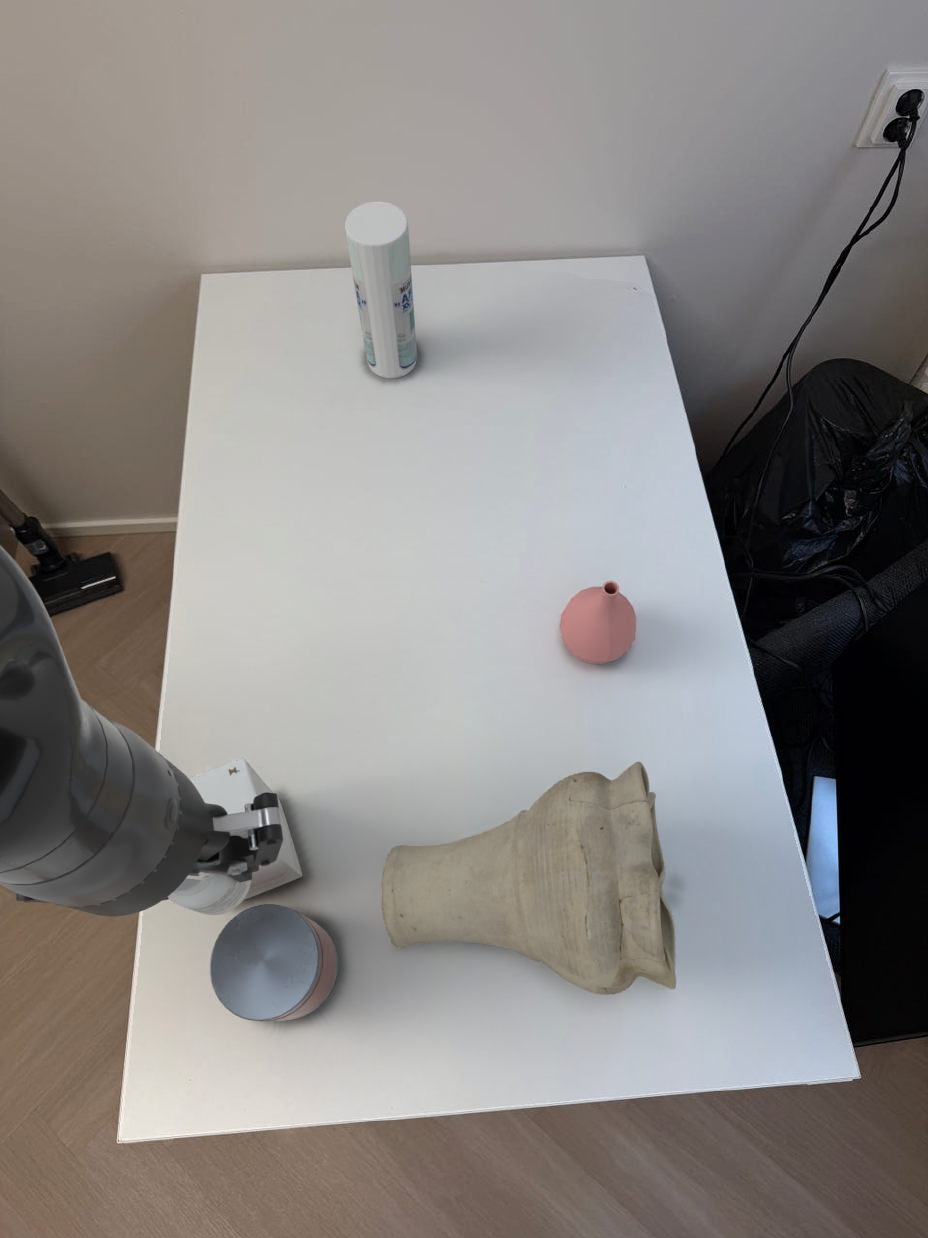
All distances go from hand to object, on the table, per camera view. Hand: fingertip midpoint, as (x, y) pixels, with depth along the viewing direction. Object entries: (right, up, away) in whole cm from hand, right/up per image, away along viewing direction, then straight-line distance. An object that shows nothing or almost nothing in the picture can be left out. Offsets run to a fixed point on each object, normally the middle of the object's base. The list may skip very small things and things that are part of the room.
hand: (203, 873), depth 52 cm
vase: (+21, -9, +26) cm, 35 cm away
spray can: (+7, +48, +53) cm, 72 cm away
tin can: (+1, -15, +23) cm, 28 cm away
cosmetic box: (-3, -6, +28) cm, 29 cm away
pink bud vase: (+30, +13, +37) cm, 49 cm away
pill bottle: (0, -1, +3) cm, 4 cm away
